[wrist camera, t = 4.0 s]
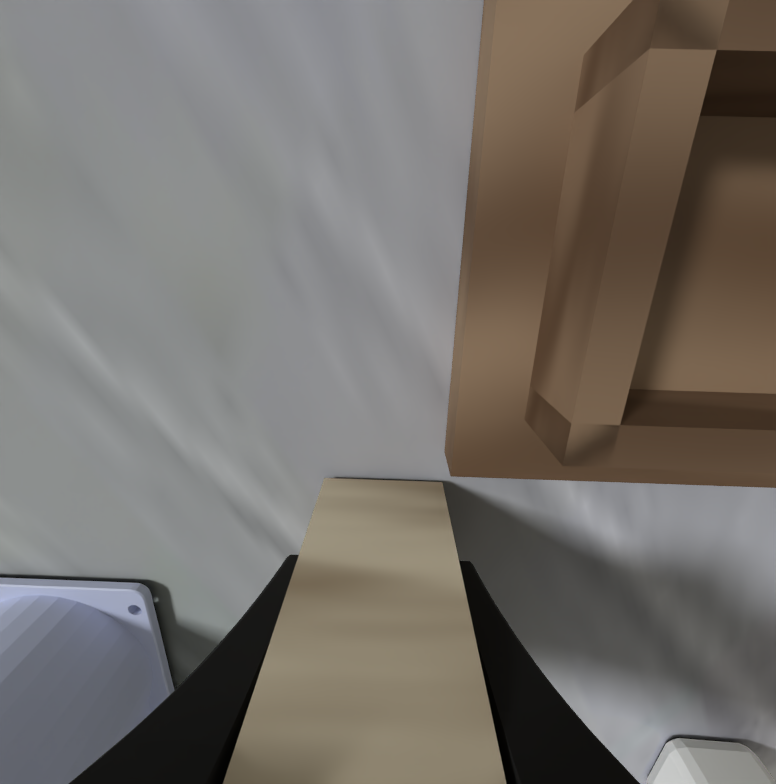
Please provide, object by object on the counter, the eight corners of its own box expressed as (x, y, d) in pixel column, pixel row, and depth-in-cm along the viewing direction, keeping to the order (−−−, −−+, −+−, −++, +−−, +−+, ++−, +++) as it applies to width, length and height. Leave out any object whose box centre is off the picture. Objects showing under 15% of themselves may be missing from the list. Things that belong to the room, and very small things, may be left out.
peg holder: (805, 464, 12) (988, 553, 8) (444, 452, 12) (465, 534, 9) (1020, -5, 8) (1544, -231, 4) (485, -15, 8) (558, -244, 5)
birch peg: (434, 574, 14) (480, 951, 6) (327, 570, 14) (245, 940, 6) (442, 481, 12) (513, 818, 5) (324, 477, 12) (215, 805, 5)
